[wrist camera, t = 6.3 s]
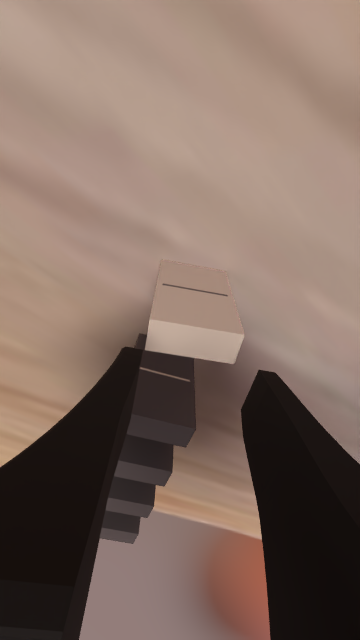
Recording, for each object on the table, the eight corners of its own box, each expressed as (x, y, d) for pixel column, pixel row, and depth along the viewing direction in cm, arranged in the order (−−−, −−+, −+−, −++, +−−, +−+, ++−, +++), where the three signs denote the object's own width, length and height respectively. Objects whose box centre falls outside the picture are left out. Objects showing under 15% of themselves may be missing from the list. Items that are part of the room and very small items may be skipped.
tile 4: (148, 447, 28) (138, 533, 22) (144, 458, 28) (132, 544, 22) (105, 438, 27) (82, 524, 21) (102, 449, 28) (79, 534, 22)
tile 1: (193, 348, 22) (196, 428, 16) (185, 365, 22) (185, 447, 16) (139, 333, 21) (120, 411, 15) (133, 350, 22) (114, 431, 16)
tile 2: (175, 387, 24) (172, 471, 18) (169, 401, 24) (164, 486, 18) (126, 374, 23) (105, 457, 17) (121, 389, 24) (99, 473, 18)
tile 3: (161, 419, 26) (154, 506, 20) (155, 431, 26) (147, 518, 20) (115, 408, 25) (93, 494, 19) (111, 421, 26) (88, 507, 20)
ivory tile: (225, 270, 18) (244, 334, 13) (218, 294, 19) (233, 364, 13) (161, 258, 18) (149, 318, 12) (157, 283, 19) (144, 350, 13)
